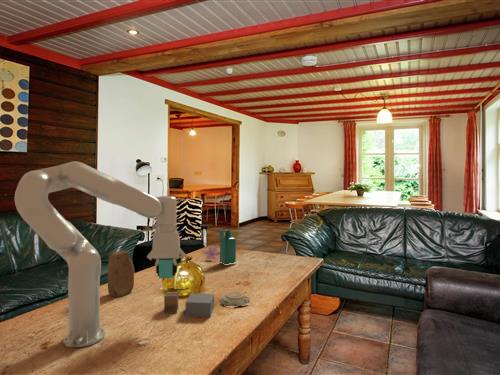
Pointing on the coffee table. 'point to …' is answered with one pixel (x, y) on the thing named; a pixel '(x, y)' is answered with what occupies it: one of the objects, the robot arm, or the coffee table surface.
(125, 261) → the brown rounded oval lump
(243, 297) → the grey stepped disc
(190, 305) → the base block
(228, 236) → the green bottle
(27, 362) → the coffee table surface
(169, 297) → the walnut block
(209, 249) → the lily
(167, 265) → the teal block
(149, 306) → the coffee table surface
